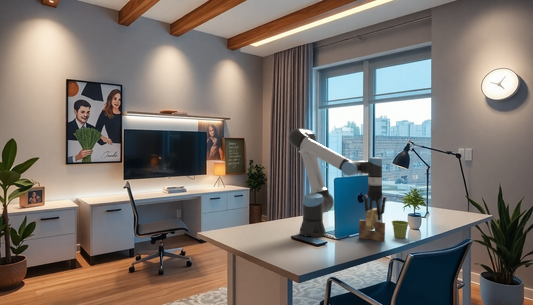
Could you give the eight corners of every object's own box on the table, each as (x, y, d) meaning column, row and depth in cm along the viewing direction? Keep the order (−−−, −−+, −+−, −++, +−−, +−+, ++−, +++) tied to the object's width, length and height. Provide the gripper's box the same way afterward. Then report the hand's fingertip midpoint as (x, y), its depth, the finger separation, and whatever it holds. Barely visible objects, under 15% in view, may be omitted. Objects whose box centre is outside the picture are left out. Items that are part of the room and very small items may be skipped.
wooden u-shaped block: (358, 237, 204) (359, 220, 203) (360, 236, 205) (360, 219, 205) (383, 241, 196) (384, 223, 196) (384, 240, 198) (385, 222, 197)
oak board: (370, 230, 194) (370, 212, 193) (365, 229, 195) (365, 211, 195) (378, 225, 205) (378, 208, 205) (373, 225, 207) (373, 207, 207)
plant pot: (397, 239, 200) (397, 224, 200) (388, 235, 209) (388, 220, 209) (411, 238, 202) (412, 223, 202) (402, 234, 211) (402, 220, 211)
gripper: (359, 184, 205) (358, 224, 205) (387, 186, 196) (386, 228, 197) (363, 182, 211) (363, 222, 212) (390, 184, 202) (390, 225, 203)
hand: (374, 225), depth 204 cm, fingers closed on oak board, 3 cm apart
